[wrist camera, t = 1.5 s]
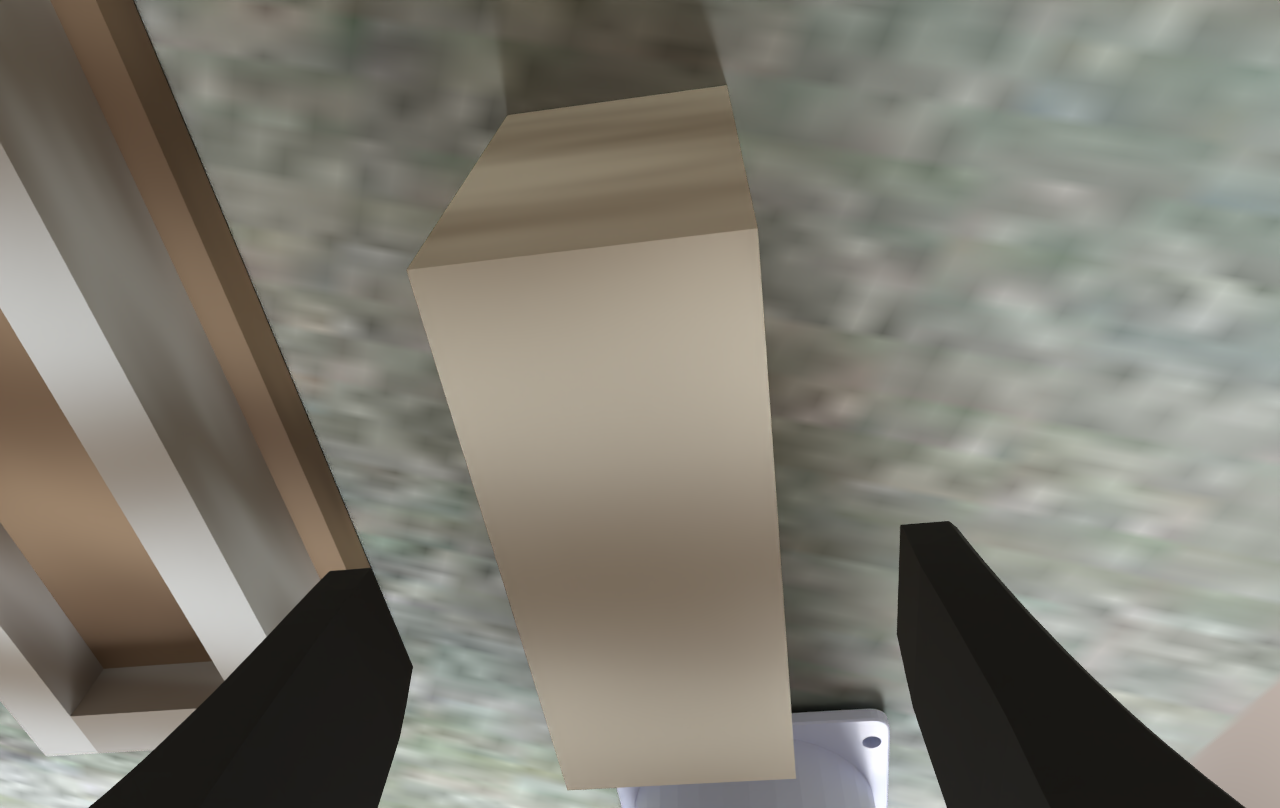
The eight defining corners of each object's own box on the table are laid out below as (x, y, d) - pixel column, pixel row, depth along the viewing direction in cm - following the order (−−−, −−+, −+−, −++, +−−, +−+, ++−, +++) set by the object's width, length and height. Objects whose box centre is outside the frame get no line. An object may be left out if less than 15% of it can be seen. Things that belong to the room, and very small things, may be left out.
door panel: (761, 514, 21) (796, 778, 15) (598, 527, 21) (567, 789, 15) (726, 83, 15) (757, 228, 9) (508, 114, 16) (406, 270, 10)
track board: (408, 658, 24) (370, 772, 21) (76, 681, 25) (-6, 792, 22) (98, -83, 14) (-56, -66, 11) (-424, 6, 15) (-689, 43, 12)
